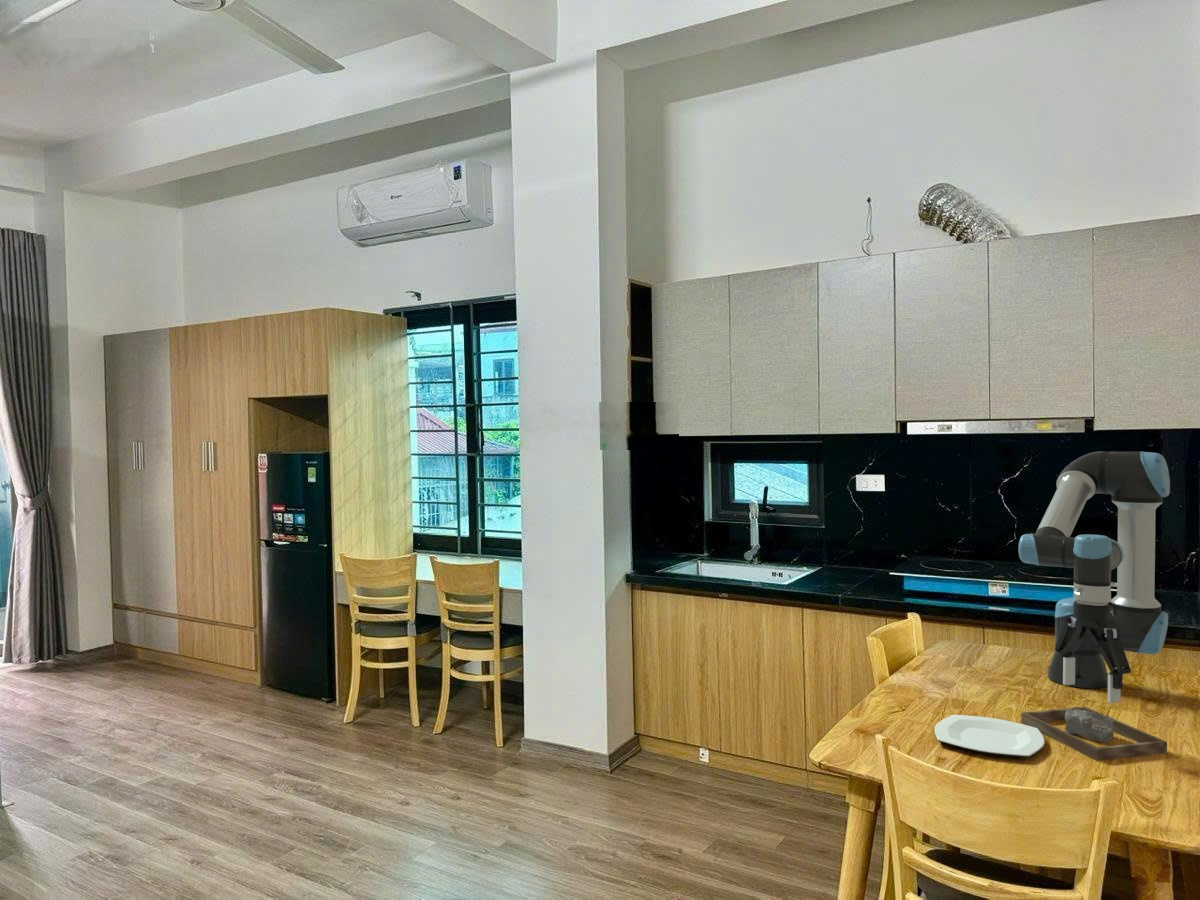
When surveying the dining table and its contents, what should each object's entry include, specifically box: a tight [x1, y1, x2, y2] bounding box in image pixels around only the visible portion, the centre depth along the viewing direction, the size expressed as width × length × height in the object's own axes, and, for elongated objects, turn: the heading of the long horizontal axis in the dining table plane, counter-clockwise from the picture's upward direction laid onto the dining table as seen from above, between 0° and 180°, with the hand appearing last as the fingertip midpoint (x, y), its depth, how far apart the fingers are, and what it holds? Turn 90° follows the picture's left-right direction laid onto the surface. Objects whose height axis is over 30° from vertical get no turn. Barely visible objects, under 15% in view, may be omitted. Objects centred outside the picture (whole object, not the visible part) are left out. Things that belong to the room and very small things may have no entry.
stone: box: [1064, 709, 1114, 744], centre depth 201 cm, size 8×10×6 cm
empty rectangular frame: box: [1020, 706, 1168, 762], centre depth 201 cm, size 18×24×2 cm
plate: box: [934, 714, 1046, 758], centre depth 200 cm, size 23×23×2 cm
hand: (1090, 693), depth 200 cm, fingers open, 13 cm apart
